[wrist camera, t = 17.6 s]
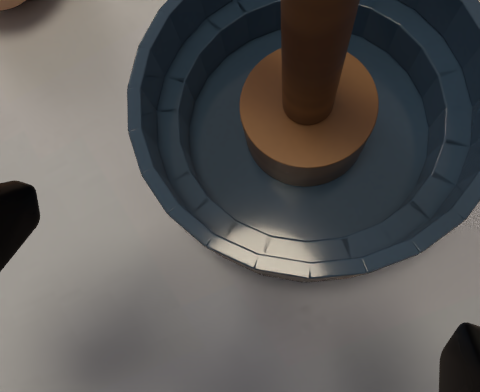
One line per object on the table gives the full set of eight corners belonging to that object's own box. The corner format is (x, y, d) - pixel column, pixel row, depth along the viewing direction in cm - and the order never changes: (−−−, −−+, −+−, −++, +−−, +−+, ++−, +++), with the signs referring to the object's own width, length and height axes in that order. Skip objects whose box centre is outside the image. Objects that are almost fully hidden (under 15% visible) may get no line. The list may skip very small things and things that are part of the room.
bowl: (518, 214, 18) (600, 185, 14) (216, 328, 19) (191, 339, 14) (377, -29, 22) (402, -118, 18) (130, 67, 23) (89, 7, 18)
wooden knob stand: (326, 209, 19) (461, -69, 4) (223, 149, 20) (68, -213, 6) (387, 109, 20) (665, -394, 5) (284, 58, 21) (282, -455, 7)
